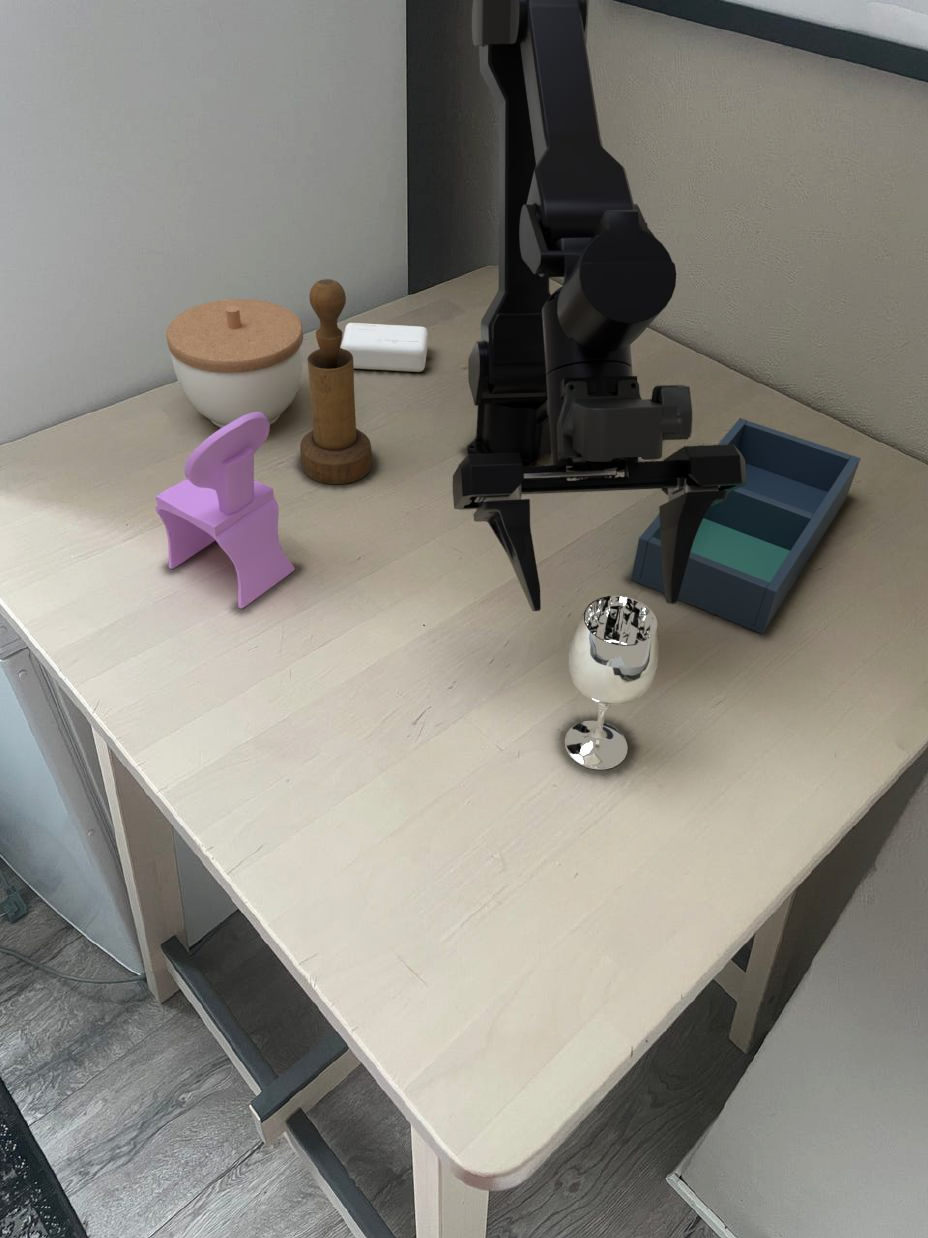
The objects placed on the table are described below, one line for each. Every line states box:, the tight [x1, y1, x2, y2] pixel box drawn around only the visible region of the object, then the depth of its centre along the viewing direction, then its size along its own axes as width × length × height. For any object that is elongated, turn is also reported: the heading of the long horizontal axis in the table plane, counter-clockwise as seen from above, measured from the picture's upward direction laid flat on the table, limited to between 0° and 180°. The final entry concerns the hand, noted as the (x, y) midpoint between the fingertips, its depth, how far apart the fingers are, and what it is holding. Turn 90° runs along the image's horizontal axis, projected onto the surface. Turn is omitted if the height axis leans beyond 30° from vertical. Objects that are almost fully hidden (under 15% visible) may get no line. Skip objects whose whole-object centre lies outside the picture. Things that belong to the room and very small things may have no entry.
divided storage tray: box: [630, 417, 862, 635], centre depth 89 cm, size 12×22×4 cm, turn 148°
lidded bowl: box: [165, 298, 304, 429], centre depth 99 cm, size 13×13×11 cm
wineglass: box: [564, 595, 660, 771], centre depth 68 cm, size 6×6×12 cm
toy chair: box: [155, 412, 296, 610], centre depth 80 cm, size 8×9×15 cm
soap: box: [340, 322, 429, 373], centre depth 111 cm, size 9×6×3 cm, turn 88°
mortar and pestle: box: [299, 278, 373, 485], centre depth 91 cm, size 7×6×18 cm
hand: (604, 607), depth 68 cm, fingers open, 9 cm apart
